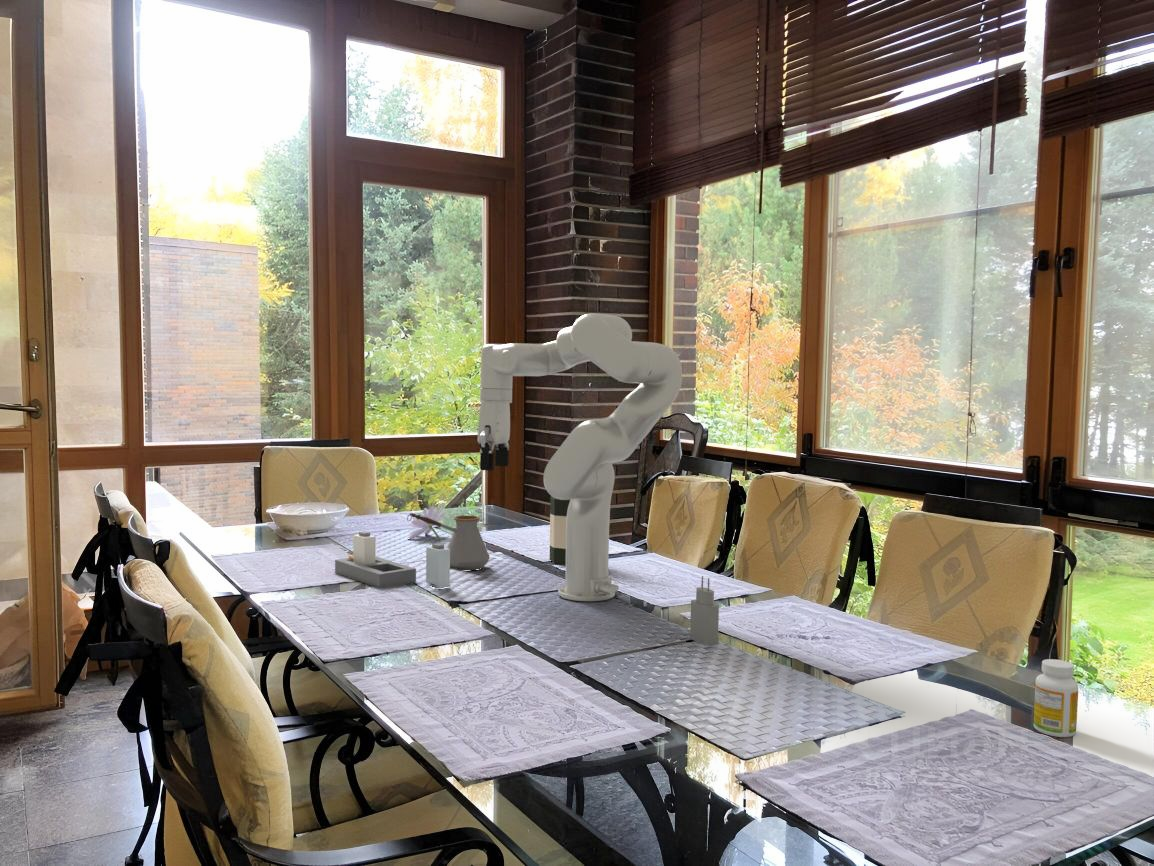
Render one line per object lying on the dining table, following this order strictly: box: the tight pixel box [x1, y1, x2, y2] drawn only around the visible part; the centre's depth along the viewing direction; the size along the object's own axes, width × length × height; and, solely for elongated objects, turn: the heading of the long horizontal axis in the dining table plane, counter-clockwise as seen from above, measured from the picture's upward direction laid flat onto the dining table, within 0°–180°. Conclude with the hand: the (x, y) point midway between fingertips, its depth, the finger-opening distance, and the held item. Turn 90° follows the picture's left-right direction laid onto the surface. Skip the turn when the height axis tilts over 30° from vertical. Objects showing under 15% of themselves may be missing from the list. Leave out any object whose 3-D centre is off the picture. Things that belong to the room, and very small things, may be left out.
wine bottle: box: [549, 495, 571, 566], centre depth 239 cm, size 8×8×30 cm
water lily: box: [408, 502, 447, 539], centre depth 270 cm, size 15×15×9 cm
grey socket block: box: [334, 554, 417, 589], centre depth 214 cm, size 20×10×5 cm, turn 43°
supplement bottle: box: [1033, 658, 1079, 738], centre depth 130 cm, size 5×5×10 cm
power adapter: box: [689, 575, 720, 646], centre depth 171 cm, size 3×5×12 cm, turn 30°
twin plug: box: [352, 530, 377, 565], centre depth 217 cm, size 5×3×10 cm, turn 43°
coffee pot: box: [406, 512, 490, 571], centre depth 227 cm, size 21×12×15 cm, turn 123°
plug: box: [425, 543, 451, 588], centre depth 209 cm, size 5×3×10 cm, turn 43°
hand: (494, 468), depth 219 cm, fingers open, 9 cm apart
